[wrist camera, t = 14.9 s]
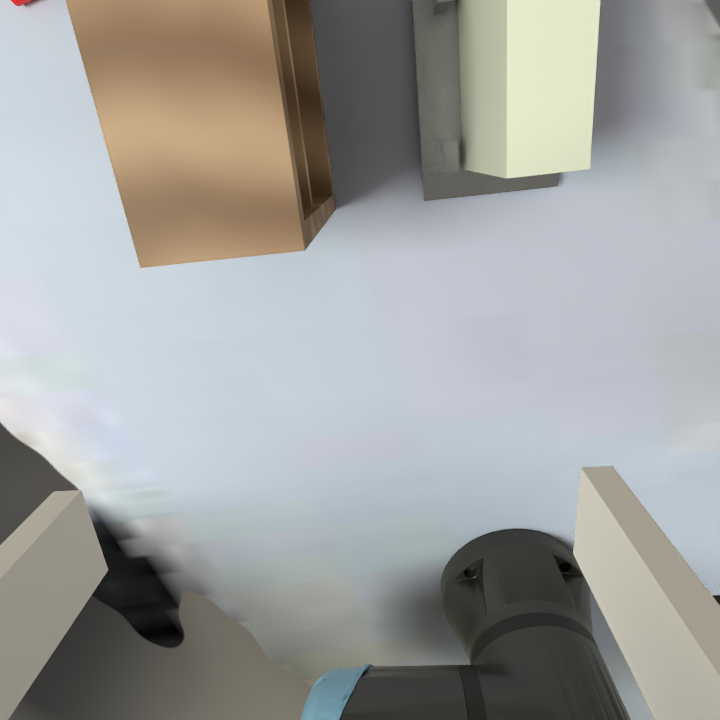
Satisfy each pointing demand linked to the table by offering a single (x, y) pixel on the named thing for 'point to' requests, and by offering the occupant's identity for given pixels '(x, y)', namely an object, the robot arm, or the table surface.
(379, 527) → the table surface
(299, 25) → the cabinet
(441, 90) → the grey pegged base plate
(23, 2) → the tow hook
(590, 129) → the door panel
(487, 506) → the table surface
